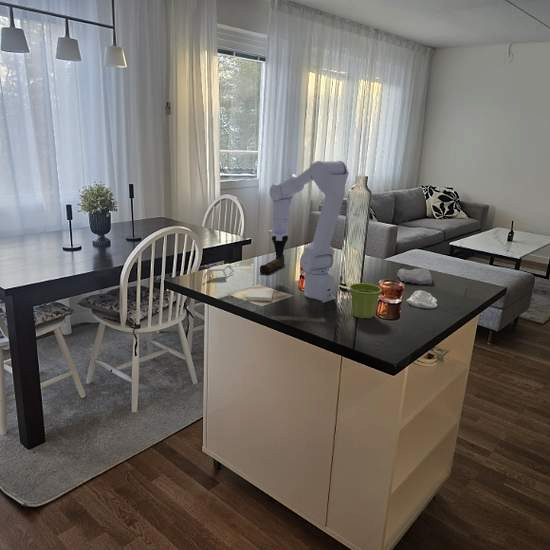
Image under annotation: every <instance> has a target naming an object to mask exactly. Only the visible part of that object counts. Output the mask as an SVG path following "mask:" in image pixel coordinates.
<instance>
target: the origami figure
mask: <svg viewBox="0 0 550 550" xmlns="http://www.w3.org/2000/svg"><path fill="white" fill-rule="evenodd" d="M226 269H229V270H231V271H230V272H229V274H228V275H227V273H226V271H225V270H226ZM220 271H222V272H223V274H224V275H223V276H224V277H223V280H226V279H227V278H228V276H230V275H231V274H233V272H234V271H235V270H234V269H233V268H232V267H231V265H230V264H223V265H222V264H220V265H215V266H214V265H213V266H212V267H210V268H208V269H206V272H205V274H204V275H203V278H204V279H205V280H209V279H208V278H207V276H208V275H209V273H210V274H211V276H212V277H215V275H214V273H213V272H220Z"/></svg>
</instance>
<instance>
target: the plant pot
mask: <svg viewBox="0 0 550 550" xmlns="http://www.w3.org/2000/svg"><path fill="white" fill-rule="evenodd" d="M348 287H349V290H350V294H351V308H352V310H351V311H352V315H353V316H354V318H358V319H368V320H369V319H372V318H373V317H374V315H375V311H376V307H377V304H378V300H379V296H380V294H381V292H382V290H383V289H382V287H380V286H378V285H376V284H371V283H366V282H365V283H360V282H359V283H352V284H349V286H348Z"/></svg>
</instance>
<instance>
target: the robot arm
mask: <svg viewBox="0 0 550 550" xmlns="http://www.w3.org/2000/svg"><path fill="white" fill-rule="evenodd" d="M349 173H350V172H349V170H348V167H347V166H346V164H345V162H344V161H342V160H337V161H336V160H334V161H333V160H332V161H325V160H322V161H321V160H317V161H315V162H314V163H310V165H309V167H308V168H306V169H305V170H304V171H303V172H301V173H299V175H298V174H293V173H292V174H289V175H288V177H287V178H285V179H282V180H281V182H280V183H273V184H272V185H271V186H270V188H269V196H270V199H271V200H272V217H271V218H272V219H271V221H272V222H271V223H272V224H271V225H272V226H271V229H270V230H268V233H269V234H272V237H271V241H272V243H273V245H274V252H275V258H276V257H282V256H283V255H284V250H285V246H286V244H287V242H288V240H289V236H288V235H289V233H290V231H289V222H290V221H289V220H290V206H291V204H292V199H293V198H294V195H296V194H297V193H299V192H302V190H304V187H305V185H306V184H309V183H311V182H314V184H315V185H316V186H317V187H318V189H319V191H320V192H321V193H323V194H324V199H323V203H322V205H321V206H322V207H321V209H320V213H319V217H318V221H317V225H316V229H315V231H314V236H313V239H312V242H310V243H309V244H307V245H306V246H305V248H304V251H303V253H302V254H301V255H300V259H299V263H300V266H301V269H302V270H303V272H304V287H303V288H304V290H303V296H305V297H307V298H310V299H315V300H318V301H320V302H322V303H323V304H324V303H327V302H329V301H333V300H334V299H336V296H335V285H336V281H335V277H334V276H333V275H332V274H330V273H329V272H330V269H331V268H332V267H333V266H334V261H335V260H334V256H335V249H334V248H333V247H332V246H331V242H332V240H333V235H334V233H335V229H336V225H337V222H338V219H339V215H340V211H341V208H342V205H343V202H344V198H345V195H346V194H345V193H346V184H347V180H348V177H349Z"/></svg>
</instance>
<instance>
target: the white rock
mask: <svg viewBox="0 0 550 550" xmlns="http://www.w3.org/2000/svg"><path fill="white" fill-rule="evenodd" d="M406 302H407V303H408V305H410V306H412V307H416V308H422V309H435V308H437V307H438V304H437V302H438V299H437V298H435V297H434V296H433V295H432V294H431V293H429V292H427V291H425V290H420V289H419V290H415V291H414V292H413V293H412V294H411V295H410V297H409V298H408V299H406Z"/></svg>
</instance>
